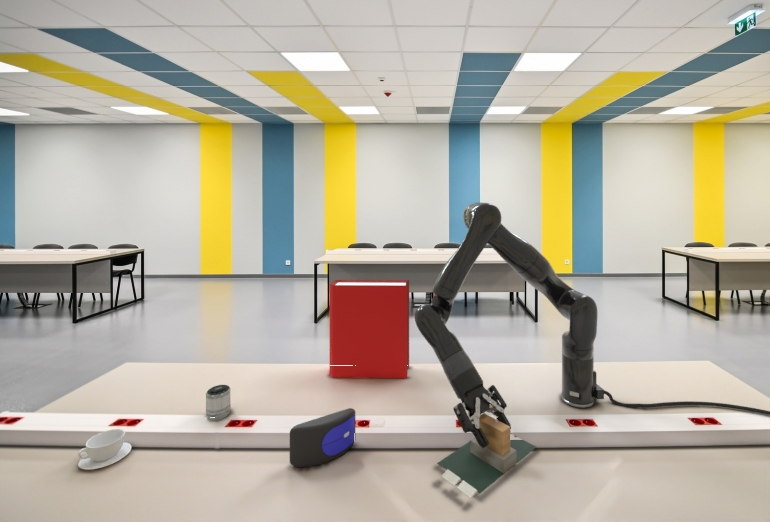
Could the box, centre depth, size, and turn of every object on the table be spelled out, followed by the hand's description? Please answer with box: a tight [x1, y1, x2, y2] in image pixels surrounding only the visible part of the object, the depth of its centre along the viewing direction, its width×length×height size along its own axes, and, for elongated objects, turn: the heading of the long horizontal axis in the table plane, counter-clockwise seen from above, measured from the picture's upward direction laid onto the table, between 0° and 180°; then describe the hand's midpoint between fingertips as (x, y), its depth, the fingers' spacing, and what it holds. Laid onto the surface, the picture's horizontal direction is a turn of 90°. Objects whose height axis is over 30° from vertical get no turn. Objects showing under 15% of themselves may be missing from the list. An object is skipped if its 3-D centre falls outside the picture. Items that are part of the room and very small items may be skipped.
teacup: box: [77, 428, 132, 470], centre depth 97 cm, size 10×10×5 cm
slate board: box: [436, 439, 537, 495], centre depth 97 cm, size 22×13×1 cm, turn 134°
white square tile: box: [441, 469, 462, 486], centre depth 88 cm, size 4×4×1 cm
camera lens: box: [205, 384, 232, 422], centre depth 115 cm, size 6×6×8 cm
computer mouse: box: [289, 407, 356, 468], centre depth 97 cm, size 16×5×9 cm, turn 123°
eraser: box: [469, 412, 517, 474], centre depth 96 cm, size 10×5×8 cm, turn 44°
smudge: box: [457, 480, 478, 499], centre depth 85 cm, size 4×4×1 cm
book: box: [328, 279, 410, 379], centre depth 142 cm, size 27×8×32 cm, turn 89°
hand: (497, 438), depth 95 cm, fingers open, 8 cm apart
